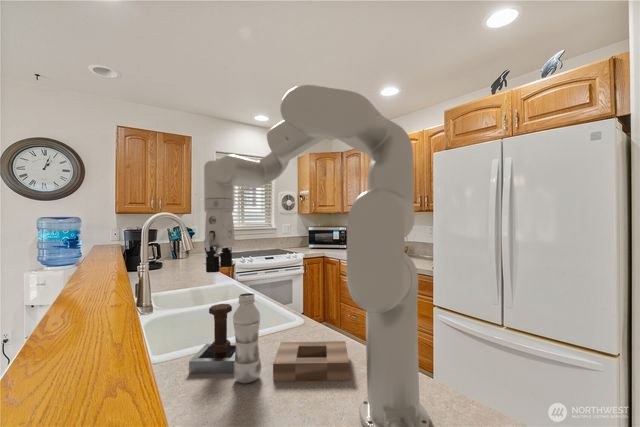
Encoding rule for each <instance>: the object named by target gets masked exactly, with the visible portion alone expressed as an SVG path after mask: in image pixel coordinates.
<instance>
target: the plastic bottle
mask: <svg viewBox="0 0 640 427" xmlns="http://www.w3.org/2000/svg"><path fill="white" fill-rule="evenodd" d="M255 303H256V299H255V293H253V292H245V293H241V294H239V295H238V304H239V306H238V307H237V308H236V310H235V311H234V314H233V316H232V322H233V328H234V336H235V343H236V351H235V361H234V367H233V372H234V373H233V376H234V379H235V380H236V381H237V382H239V383H241V384H248V383H249V384H250V383H253V382H255V381H257V380H258V379H259V377H260V375H261V372H262V361H261V357H260V347H259V335H260V332H259V330H260V324H261V313H260V311H259V309H258V308H257V306H256V305H255Z"/></svg>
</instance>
